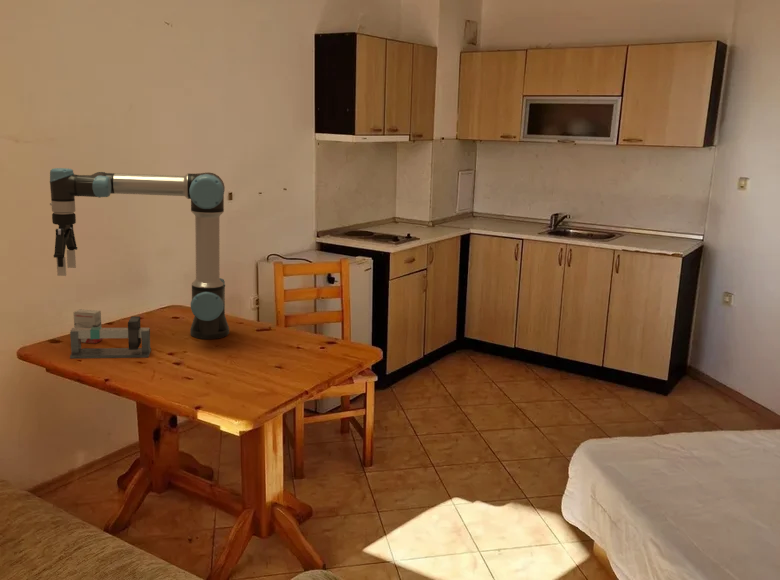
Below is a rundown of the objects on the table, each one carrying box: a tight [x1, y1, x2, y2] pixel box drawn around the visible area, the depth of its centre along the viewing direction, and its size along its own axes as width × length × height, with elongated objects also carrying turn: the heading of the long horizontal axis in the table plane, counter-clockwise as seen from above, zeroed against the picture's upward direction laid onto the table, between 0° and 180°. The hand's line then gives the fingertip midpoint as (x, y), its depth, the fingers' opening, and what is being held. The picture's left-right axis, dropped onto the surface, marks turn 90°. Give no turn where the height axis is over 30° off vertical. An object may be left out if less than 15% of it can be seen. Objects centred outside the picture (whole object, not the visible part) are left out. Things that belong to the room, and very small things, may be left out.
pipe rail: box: [69, 327, 152, 359], centre depth 244 cm, size 26×8×10 cm, turn 102°
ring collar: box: [127, 315, 142, 350], centre depth 245 cm, size 3×8×10 cm, turn 11°
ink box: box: [73, 308, 103, 344], centre depth 257 cm, size 9×5×12 cm, turn 84°
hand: (66, 271), depth 246 cm, fingers open, 13 cm apart
